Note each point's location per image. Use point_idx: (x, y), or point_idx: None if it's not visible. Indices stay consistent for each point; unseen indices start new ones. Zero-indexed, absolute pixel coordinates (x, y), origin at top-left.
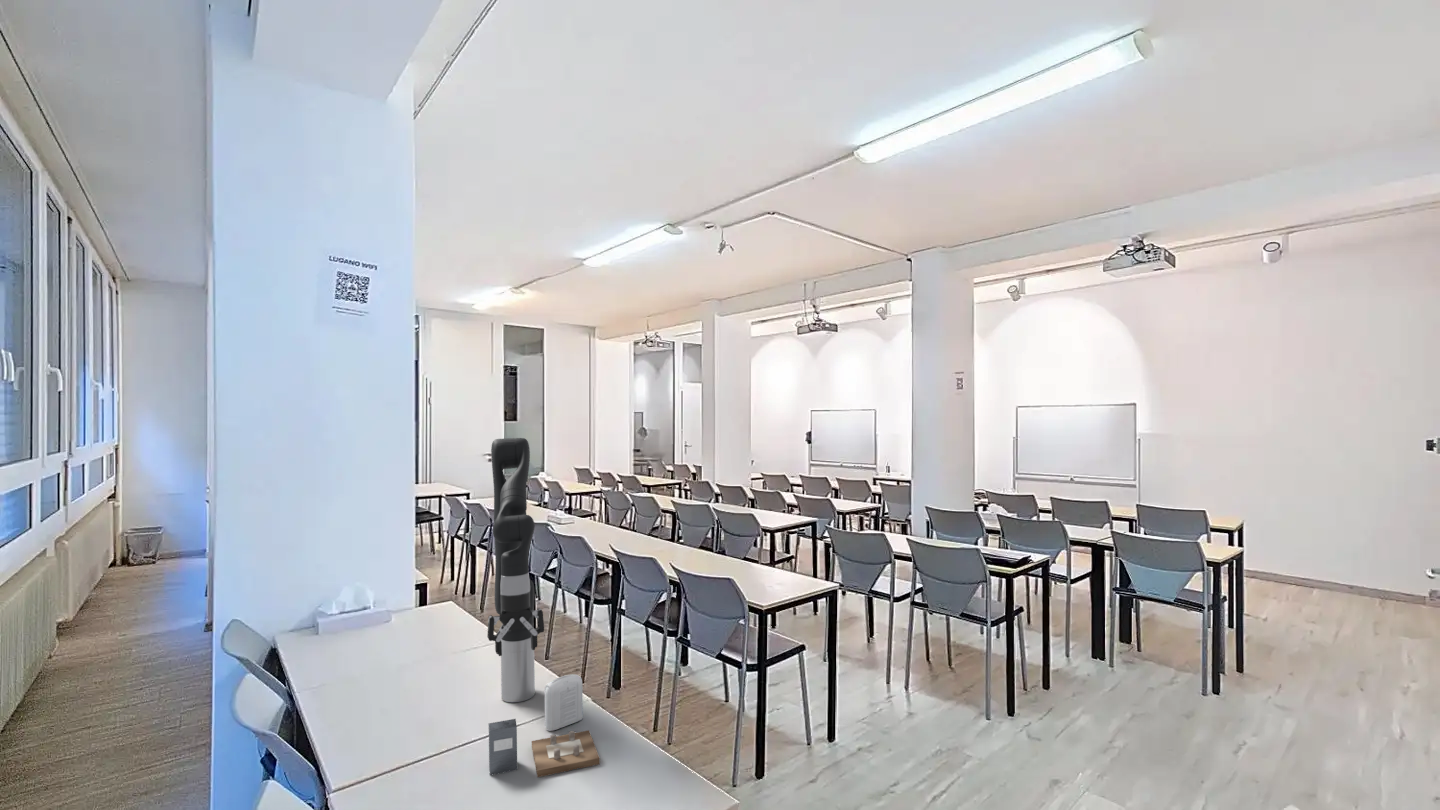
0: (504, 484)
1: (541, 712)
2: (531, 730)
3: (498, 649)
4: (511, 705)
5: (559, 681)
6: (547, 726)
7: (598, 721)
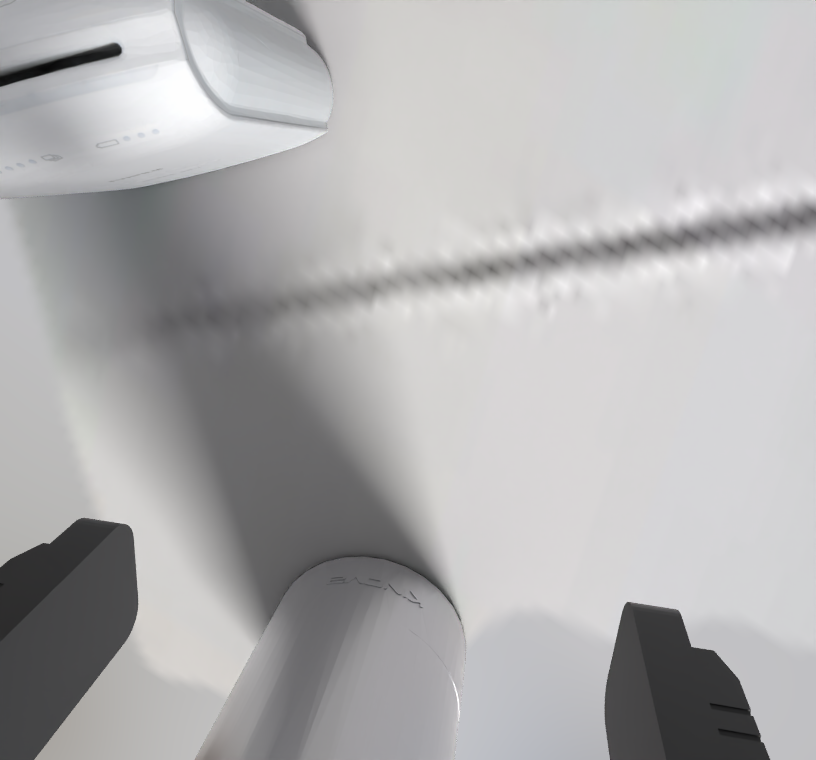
0: None
1: (300, 356)
2: (418, 145)
3: (701, 711)
4: (436, 549)
5: (41, 14)
6: (320, 64)
7: None
